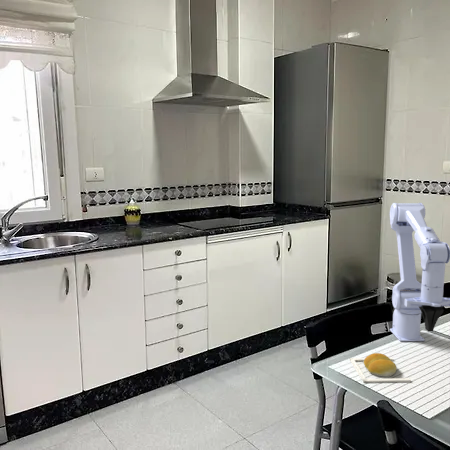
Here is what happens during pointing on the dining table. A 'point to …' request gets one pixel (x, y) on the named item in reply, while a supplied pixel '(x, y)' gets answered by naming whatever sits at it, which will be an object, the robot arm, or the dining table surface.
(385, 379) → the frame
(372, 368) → the bread roll
